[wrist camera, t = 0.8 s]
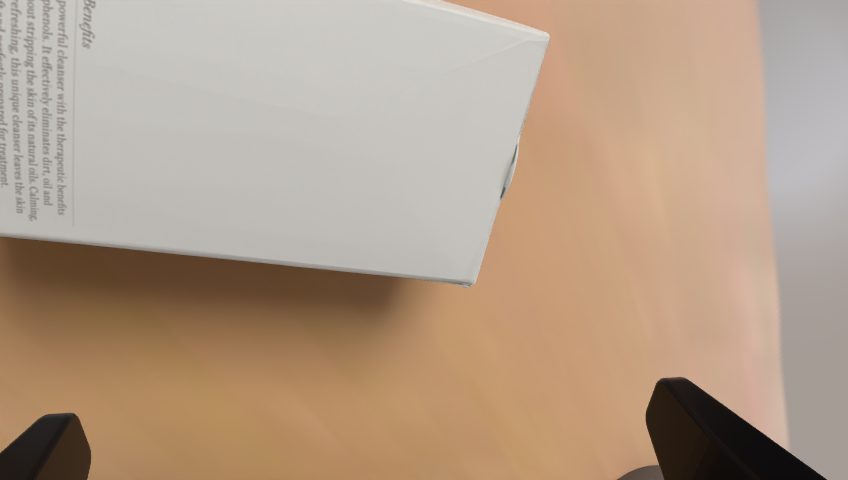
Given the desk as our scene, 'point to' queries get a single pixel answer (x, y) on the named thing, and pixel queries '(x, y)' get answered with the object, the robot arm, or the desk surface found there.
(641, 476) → the grey cylinder
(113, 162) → the skincare box
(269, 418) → the desk surface
